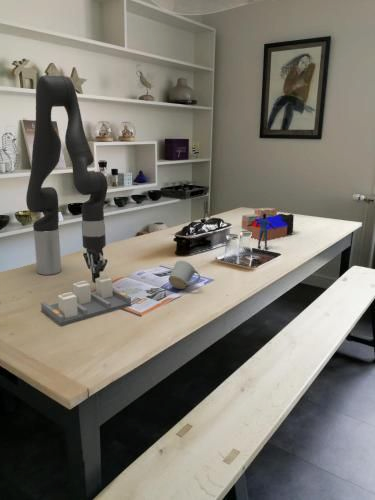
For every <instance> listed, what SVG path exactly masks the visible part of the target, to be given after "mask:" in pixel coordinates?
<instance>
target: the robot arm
mask: <svg viewBox="0 0 375 500" xmlns="http://www.w3.org/2000/svg"><path fill="white" fill-rule="evenodd" d="M54 107H55V108H56V107H59V108H60V107H64V109H65V112H66V115H67V124H66V125H67V126H66V130H65V136H64V139H65V140H64V142H65V146H66V150H67V153H68V156H69V158H70V161H71V166H72V174H73V175H72V178H73V185H74V187H75V189H76V191H77V192H78V193H79V194H81V195H83V196H89V195H90V196H89V199H88V200H86V201H85V202H83V203H82V204H81V236H82V238H81V239H82V247H83V248H84V249H86V252H83V254H82V255H83V257H84V261H85V263H86V267H87V269H88V270H90V272H91V282H92V283H94V284H96V282H95V279H96V278H99V277H101V274H100V273H101V272H104V271H105V268H106V266H107V264H108V259H107V258H106V259H105V258H104V251H103V249H104V248H105V247H106V245H107V243H106V242H107V240H106V224H105V215H104V214H105V213H104V211H105V210H104V206H105V203H106V198H107V192H108V185H109V184H108V179H107V177H106V175H105V174H104V173H103V172H101V171H88V167H89V166H91V165H92V164H93V163H94V161H95V160H94V155H93V153H92V150H91V147H90V144H89V141H88V138H87V136H86V134H85V130H84V124H83V120H82V114H81V109H80V105H79V100H78V95H77V92H76V88H75V85H74V82H73V81H72V80H71V79H70V78H69V77H67V76H64V75H63V76H62V75H41V76H40V77H39V78H38V80H37V81H36V87H35V122H34V123H35V125H34V135H33V140H32V141H33V142H32V150H31V151H32V154H31V168H30V174H29V180H28V186H27V191H26V197H25V198H26V199H25V202H26V207H27V209H28V211H30V213H35V214H36V213H37V214H38V213H45V214H44V215H43V216H42V217H41V218H39V219H37V220H35V221H34V222H33V223H32V226H33V227H32V229H33V237H34V238H33V239H34V249H35V261H36V262H35V263H36V273H38V274H40V275H44V276H45V275H46V276H47V275H54V274H55V275H56V274H58V273H61V272H62V259H61V257H62V256H61V244H60V232H59V231H60V230H59V222H60V217H59V195H58V192H57V190H56V188H54V187H52V186H46V187H43V184H44V182H45V180H46V179H47V178H48V177H49V175H50V174H51V173H52V172H53V171H54V170H55V169H56V168H57V166H58V165H59V162H60V158H61V150H62V141H61V139H60V136H59V134H58V131H57V130H56V128H55V127H54V124H53V122H52V110H53V108H54Z"/></svg>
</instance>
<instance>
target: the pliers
mask: <svg viewBox="0 0 375 500" xmlns="http://www.w3.org/2000/svg"><path fill="white" fill-rule="evenodd" d="M202 201H203V202H202V203H203V204H202V206H203V217H202V220H203V219H206V216H207V218H208V219H209V218H211V216H210V213H209V199H208V197H206V198H203V199H202Z"/></svg>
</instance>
